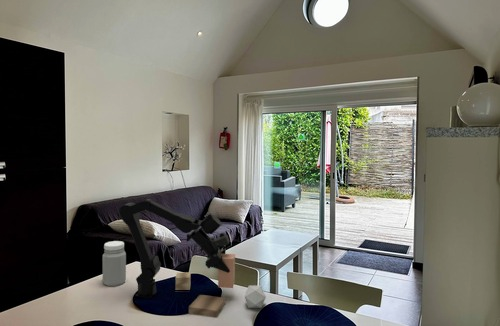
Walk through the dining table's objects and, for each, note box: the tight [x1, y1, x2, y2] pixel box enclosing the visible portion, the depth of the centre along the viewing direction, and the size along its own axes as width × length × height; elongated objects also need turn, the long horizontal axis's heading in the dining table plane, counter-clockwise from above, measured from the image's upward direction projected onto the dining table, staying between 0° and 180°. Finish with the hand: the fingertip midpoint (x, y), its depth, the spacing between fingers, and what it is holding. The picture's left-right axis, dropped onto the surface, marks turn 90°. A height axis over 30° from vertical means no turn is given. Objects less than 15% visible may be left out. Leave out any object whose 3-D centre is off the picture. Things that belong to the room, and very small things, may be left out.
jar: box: [102, 240, 127, 287], centre depth 158 cm, size 10×10×18 cm
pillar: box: [217, 253, 236, 289], centre depth 145 cm, size 6×6×12 cm
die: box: [244, 285, 266, 309], centre depth 138 cm, size 8×9×10 cm
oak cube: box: [175, 271, 191, 290], centre depth 154 cm, size 6×6×6 cm
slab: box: [188, 294, 227, 318], centre depth 135 cm, size 11×11×3 cm
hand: (230, 269), depth 144 cm, fingers closed on pillar, 6 cm apart
